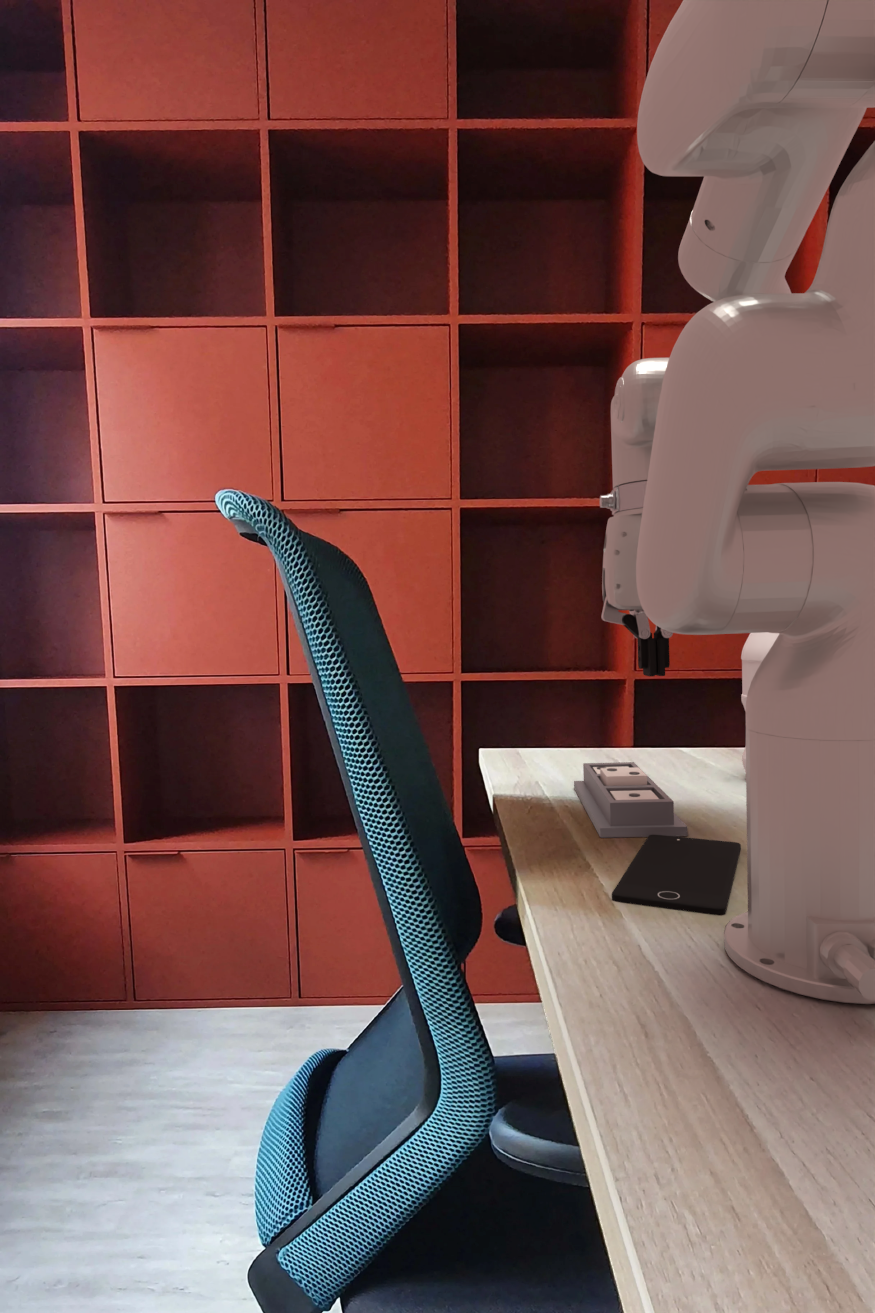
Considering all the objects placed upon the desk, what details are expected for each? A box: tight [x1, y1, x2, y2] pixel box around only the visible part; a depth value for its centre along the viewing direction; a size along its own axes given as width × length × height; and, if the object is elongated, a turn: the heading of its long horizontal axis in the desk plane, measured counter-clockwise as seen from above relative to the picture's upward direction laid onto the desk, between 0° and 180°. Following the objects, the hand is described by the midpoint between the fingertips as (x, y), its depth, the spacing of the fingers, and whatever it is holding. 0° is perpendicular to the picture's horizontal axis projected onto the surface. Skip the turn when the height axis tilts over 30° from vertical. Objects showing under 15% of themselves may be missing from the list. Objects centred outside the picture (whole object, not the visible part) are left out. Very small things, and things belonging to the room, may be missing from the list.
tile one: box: [610, 790, 659, 800], centre depth 84 cm, size 5×5×2 cm
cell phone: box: [611, 835, 742, 916], centre depth 69 cm, size 9×18×1 cm, turn 155°
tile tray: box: [573, 761, 689, 839], centre depth 90 cm, size 22×9×4 cm, turn 177°
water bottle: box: [740, 632, 780, 772], centre depth 101 cm, size 7×7×25 cm
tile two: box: [600, 766, 648, 786], centre depth 90 cm, size 5×5×2 cm
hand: (654, 675), depth 82 cm, fingers closed
